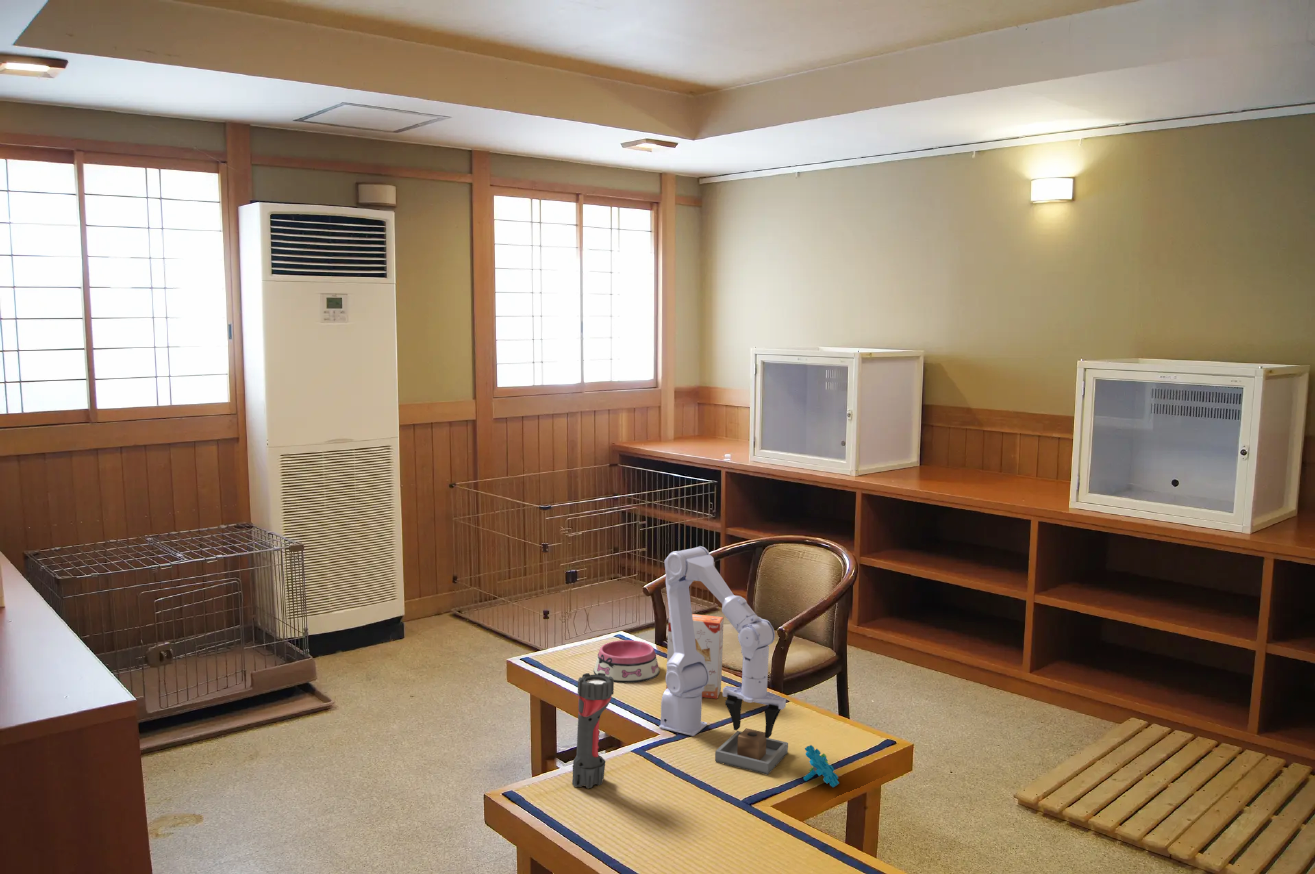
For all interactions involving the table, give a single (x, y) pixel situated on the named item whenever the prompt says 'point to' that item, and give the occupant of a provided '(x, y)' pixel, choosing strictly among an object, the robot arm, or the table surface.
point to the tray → (765, 765)
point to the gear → (820, 766)
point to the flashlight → (590, 728)
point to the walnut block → (752, 744)
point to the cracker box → (706, 649)
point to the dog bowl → (627, 661)
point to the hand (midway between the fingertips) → (752, 732)
